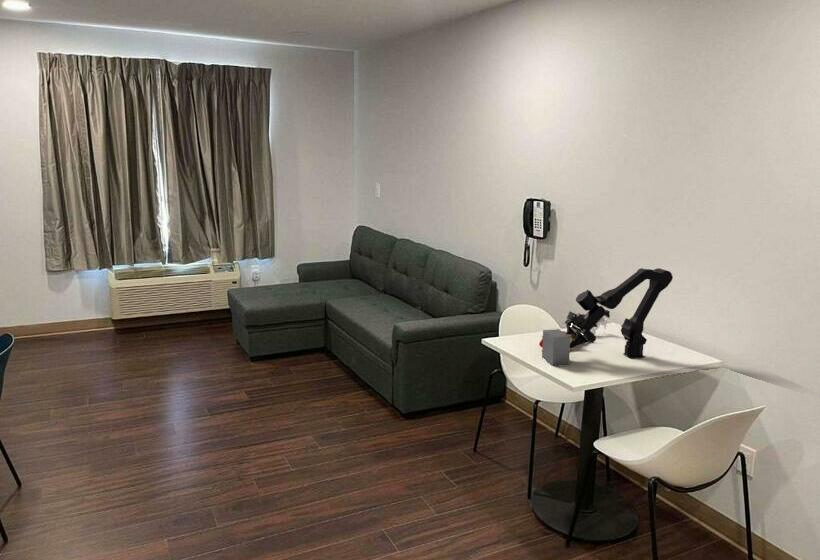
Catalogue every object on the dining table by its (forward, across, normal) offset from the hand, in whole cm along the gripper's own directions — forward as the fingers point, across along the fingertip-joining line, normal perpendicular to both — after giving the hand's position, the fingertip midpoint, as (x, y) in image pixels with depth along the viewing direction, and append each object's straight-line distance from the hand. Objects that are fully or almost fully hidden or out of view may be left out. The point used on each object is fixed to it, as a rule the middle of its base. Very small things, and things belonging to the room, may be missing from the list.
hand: (565, 345), depth 261 cm
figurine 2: (-16, -34, +26) cm, 46 cm away
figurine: (-1, -20, +11) cm, 23 cm away
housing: (+8, 0, +2) cm, 8 cm away
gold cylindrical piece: (+2, 0, +1) cm, 2 cm away
